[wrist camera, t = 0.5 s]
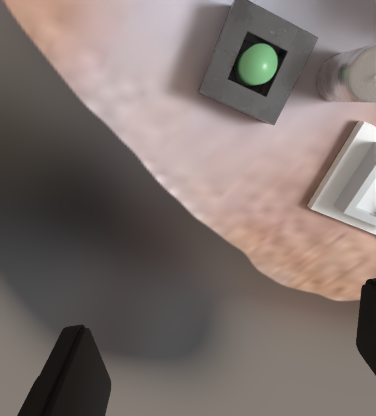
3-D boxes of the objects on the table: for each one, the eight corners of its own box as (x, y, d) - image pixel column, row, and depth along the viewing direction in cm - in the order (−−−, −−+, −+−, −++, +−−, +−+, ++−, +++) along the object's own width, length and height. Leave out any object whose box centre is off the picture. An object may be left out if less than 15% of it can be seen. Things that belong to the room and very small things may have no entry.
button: (243, 44, 29) (251, 36, 25) (272, 58, 29) (284, 53, 26) (229, 78, 30) (235, 75, 27) (257, 91, 30) (266, 90, 27)
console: (231, 5, 28) (237, -6, 25) (304, 43, 29) (318, 37, 26) (197, 92, 31) (199, 91, 28) (265, 123, 32) (274, 125, 29)
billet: (332, 45, 29) (384, 27, 22) (368, 65, 30) (431, 53, 23) (308, 91, 31) (349, 88, 24) (343, 108, 32) (394, 111, 24)
